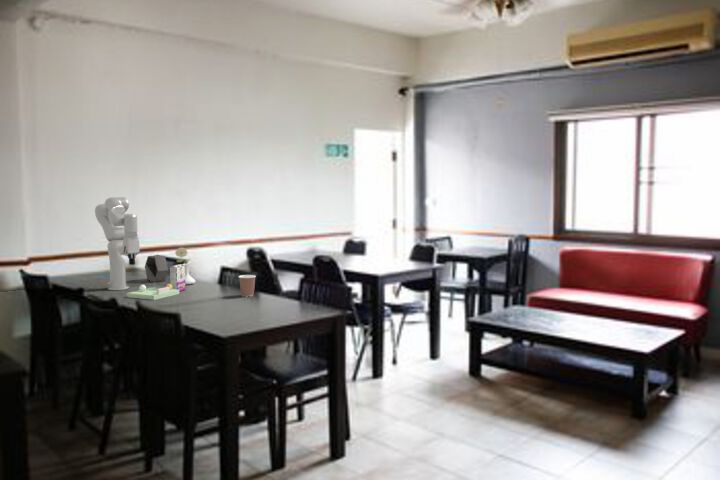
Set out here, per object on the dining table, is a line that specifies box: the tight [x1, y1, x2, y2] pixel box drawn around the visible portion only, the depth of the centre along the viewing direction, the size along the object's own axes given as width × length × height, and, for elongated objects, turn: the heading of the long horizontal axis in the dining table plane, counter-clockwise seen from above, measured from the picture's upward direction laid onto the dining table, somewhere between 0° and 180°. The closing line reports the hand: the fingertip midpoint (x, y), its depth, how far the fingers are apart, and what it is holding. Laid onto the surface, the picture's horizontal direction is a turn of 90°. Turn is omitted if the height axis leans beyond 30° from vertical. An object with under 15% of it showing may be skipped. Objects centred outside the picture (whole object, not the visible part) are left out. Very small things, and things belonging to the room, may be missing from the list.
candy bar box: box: [169, 264, 187, 293], centre depth 389 cm, size 11×5×16 cm, turn 168°
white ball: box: [138, 284, 147, 291], centre depth 375 cm, size 4×4×4 cm
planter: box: [144, 255, 169, 283], centre depth 431 cm, size 17×8×21 cm
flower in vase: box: [174, 247, 196, 285], centre depth 416 cm, size 13×11×25 cm
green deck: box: [126, 286, 180, 301], centre depth 375 cm, size 21×22×6 cm
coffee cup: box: [238, 274, 257, 298], centre depth 374 cm, size 10×10×12 cm
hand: (132, 264), depth 377 cm, fingers closed
